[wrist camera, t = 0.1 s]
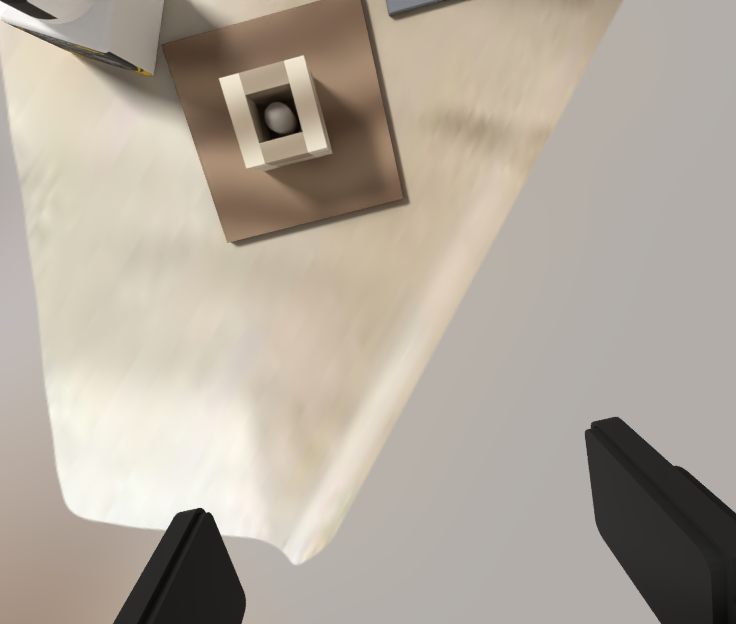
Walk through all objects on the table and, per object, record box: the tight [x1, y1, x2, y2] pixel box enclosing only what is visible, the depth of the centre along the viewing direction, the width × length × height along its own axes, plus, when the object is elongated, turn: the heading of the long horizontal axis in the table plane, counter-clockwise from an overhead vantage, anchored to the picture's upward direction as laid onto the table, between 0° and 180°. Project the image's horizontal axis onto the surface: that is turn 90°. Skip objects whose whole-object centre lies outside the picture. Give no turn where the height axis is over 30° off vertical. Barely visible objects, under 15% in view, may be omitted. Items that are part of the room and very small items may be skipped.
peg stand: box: [162, 0, 403, 243], centre depth 34 cm, size 16×16×5 cm
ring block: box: [219, 55, 333, 171], centre depth 33 cm, size 6×6×6 cm
